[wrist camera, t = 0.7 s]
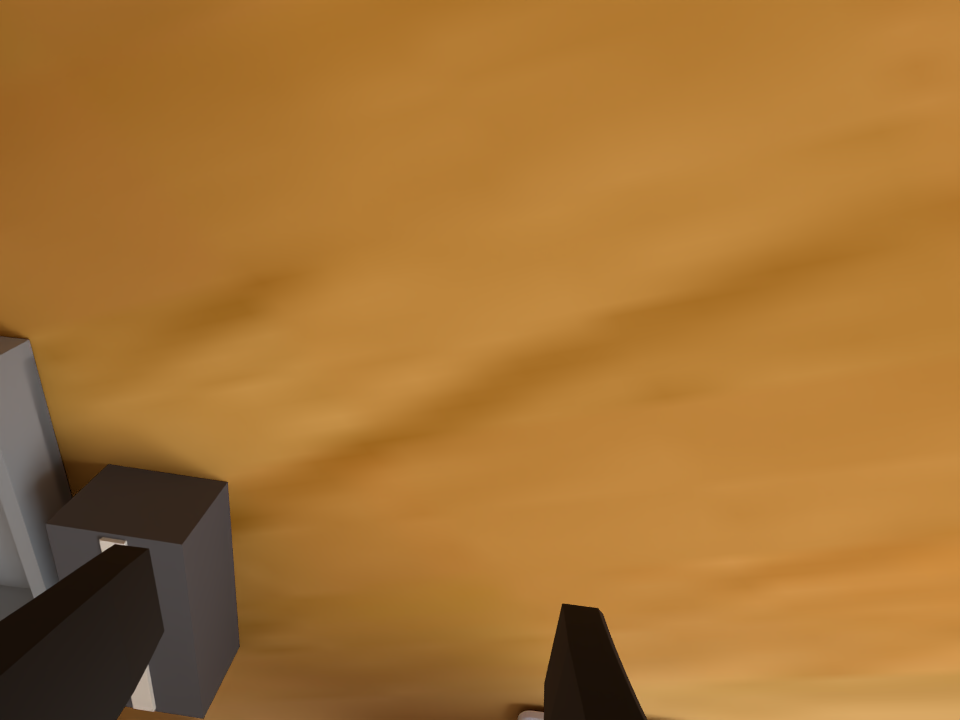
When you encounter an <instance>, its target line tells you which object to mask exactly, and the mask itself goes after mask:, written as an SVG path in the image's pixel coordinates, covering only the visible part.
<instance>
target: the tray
mask: <svg viewBox="0 0 960 720" xmlns="http://www.w3.org/2000/svg"><path fill="white" fill-rule="evenodd" d="M71 499H72V496H71V492H70V489H69V485H68V481H67V477H66V474H65V470H64V466H63V463H62V459H61V455H60V452H59V448H58V444H57V441H56V437H55V433H54V430H53V426H52V422H51V418H50V415H49V411H48V407H47V404H46V400H45V396H44V393H43V389H42V385H41V382H40V378H39V374H38V370H37V367H36V363H35V359H34V356H33V352H32V348H31V345H30V341H29V339H20V338H10V337H1V336H0V621H1V620H2V619H4V618H5V617H7V616H8V615H10V614H11V613H13V612H14V611H16V610H17V609H19V608H20V607H22V606H23V605H25V604H26V603H28V602H29V601H31V600H32V599H34V598H35V597H37V596H38V595H40V594H41V593H43V592H44V591H46V590H47V589H49V588H50V587H52V586H53V585H54V584H56V583H57V582H59V577H58V573H57V569H56V565H55V561H54V557H53V553H52V549H51V545H50V541H49V537H48V533H47V529H46V525H45V523H46V522H47V521H48V520H50V519H51V518H52V517H53V516H54V515H55V514H56V513H57V512H58V511H59V510H60V509H61V508H62V507H63V506H64V505H65V504H67V503H68V502H69V501H70V500H71Z"/></svg>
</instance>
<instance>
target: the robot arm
mask: <svg viewBox="0 0 960 720" xmlns="http://www.w3.org/2000/svg"><path fill="white" fill-rule="evenodd" d="M163 633H164V625H163V620H162V615H161V609H160V604H159V599H158V593H157V588H156V583H155V577H154V572H153V567H152V561H151V556H150V551H149V548H142V547H134V546H127V545H119V544H114V545H113V546H111V547H109V548H108V549H106V550H105V551H103V552H102V553H100V554H99V555H97V556H96V557H94V558H93V559H91V560H90V561H88V562H87V563H85V564H84V565H82V566H81V567H79V568H78V569H76V570H75V571H73V572H72V573H71V574H69V575H68V576H66V577H65V578H63V579H62V580H60V581H59V582H57V583H56V584H54V585H53V586H52V587H50V588H49V589H47V590H46V591H44V592H43V593H41V594H40V595H38V596H37V597H35V598H34V599H32V600H31V601H29V602H28V603H26V604H25V605H23V606H22V607H20V608H19V609H17V610H16V611H14V612H13V613H11V614H10V615H8V616H7V617H5V618H4V619H2V620H1V621H0V720H117V718H118V717H119V715H120V713H121V712H122V710H123V709H124V707H125V706H126V704H127V702H128V701H129V699H130V698H131V696H132V694H133V693H134V691H135V689H136V687H137V685H138V683H139V682H140V680H141V678H142V676H143V674H144V672H145V670H146V668H147V666H148V664H149V662H150V660H151V658H152V656H153V654H154V652H155V650H156V648H157V645H158V643H159V641H160V639H161V637H162V635H163ZM518 720H647V718H646V716H645V714H644V712H643V710H642V708H641V706H640V704H639V701H638V699H637V697H636V695H635V693H634V690H633V688H632V686H631V684H630V681H629V679H628V677H627V674H626V672H625V670H624V667H623V665H622V663H621V660H620V658H619V655H618V653H617V650H616V648H615V645H614V643H613V640H612V638H611V635H610V632H609V630H608V627H607V624H606V621H605V619H604V616H603V614H602V612H601V611H600V610H599V609H598V608H592V607H585V606H577V605H570V604H562V607H561V612H560V616H559V620H558V625H557V629H556V634H555V638H554V643H553V647H552V652H551V656H550V661H549V665H548V669H547V674H546V678H545V684H544V712H539V711H531V710H527V711H523V712H522V713H520V714H519V716H518Z"/></svg>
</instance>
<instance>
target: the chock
mask: <svg viewBox="0 0 960 720" xmlns="http://www.w3.org/2000/svg"><path fill="white" fill-rule="evenodd" d="M45 525H46V529H47V533H48V537H49V541H50V545H51V549H52V553H53V557H54V561H55V565H56V569H57V573H58V577H59V581H60V580H62V579H63V578H65V577H66V576H68V575H69V574H71V573H72V572H73V571H75V570H76V569H78V568H79V567H81V566H82V565H84V564H85V563H87V562H88V561H90V560H91V559H93V558H94V557H96V556H97V555H99V554H100V553H102V552H103V551H105V550H106V549H108V548H109V547H111V546H113V545H114V544H119V545H127V546H134V547H142V548H149V551H150V556H151V561H152V567H153V572H154V577H155V583H156V588H157V593H158V599H159V604H160V609H161V615H162V620H163V625H164V633H163V635H162V637H161V639H160V641H159V643H158V645H157V648H156V650H155V652H154V654H153V656H152V658H151V660H150V662H149V664H148V666H147V668H146V670H145V672H144V674H143V676H142V678H141V680H140V682H139V683H138V685H137V687H136V689H135V691H134V693H133V694H132V696H131V698H130V699H129V701H128V702H127V704H126V707H132V708H133V709H139V710H145V711H152V712H154V711H158V712H164V713H170V714H177V715H183V716H189V717H196V718H202V719H204V717H205V715H206V713H207V711H208V709H209V707H210V705H211V703H212V701H213V699H214V697H215V695H216V693H217V691H218V689H219V687H220V685H221V683H222V681H223V679H224V677H225V675H226V673H227V671H228V669H229V667H230V665H231V663H232V661H233V659H234V657H235V655H236V653H237V651H238V649H239V647H240V645H239V631H238V617H237V603H236V590H235V576H234V562H233V548H232V534H231V521H230V507H229V493H228V482H223V481H217V480H210V479H203V478H197V477H190V476H184V475H177V474H170V473H164V472H157V471H151V470H144V469H137V468H131V467H124V466H118V465H111V464H108V465H107V466H106V467H105V468H104V469H103V470H102V471H101V472H99V473H98V474H97V475H96V476H95V477H94V478H93V479H92V480H91V481H90V482H89V483H88V484H87V485H86V486H85V487H84V488H82V489H81V490H80V491H79V492H78V493H77V494H76V495H75V496H74V497H73V498H72V499H71V500H70V501H69V502H68V503H67V504H65V505H64V506H63V507H62V508H61V509H60V510H59V511H58V512H57V513H56V514H55V515H54V516H53V517H52V518H51V519H50V520H48V521H47V522H46V523H45Z"/></svg>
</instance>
